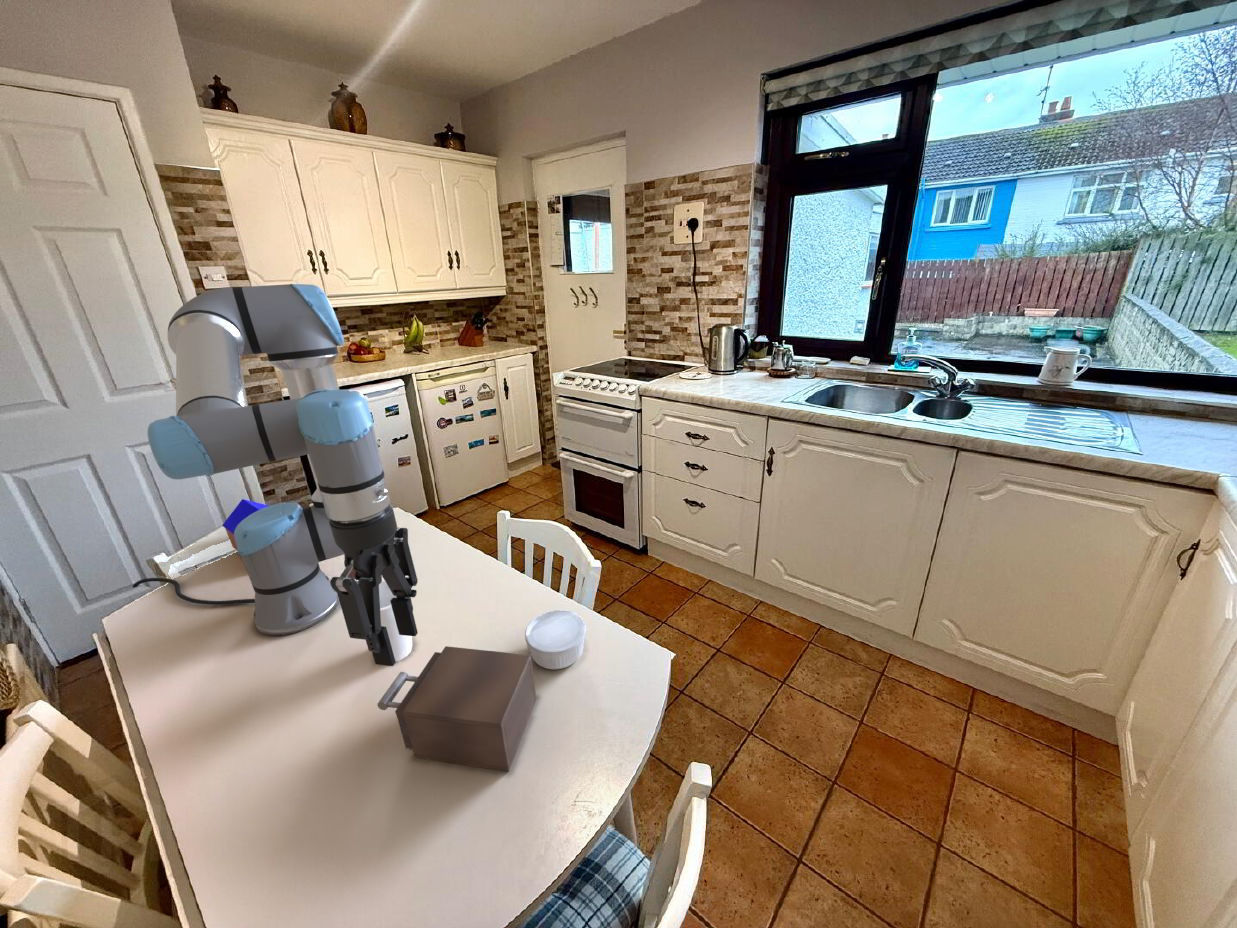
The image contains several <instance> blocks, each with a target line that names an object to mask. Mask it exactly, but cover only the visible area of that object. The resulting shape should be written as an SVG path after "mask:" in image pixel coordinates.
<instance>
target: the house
mask: <svg viewBox="0 0 1237 928" xmlns="http://www.w3.org/2000/svg"><path fill="white" fill-rule="evenodd" d="M268 506H270V505H269V504H265V503H261V502H256V501H252V500H248V499H244V498H242V499H241V500H240V501H239V502H238V504H237V505H236V507H235V508H234V509H233V510H232V512H231V513H230V514H229V515H228V517H227V518H226V519H225V520H224V522H223V524H222V525H221V527H223V528H224V529H225V531H226V535H227V536H228V539H229V541H230V544H231V547H232V548H233V549H234V550H236V551H237V545H236V541H235V538H234V531H235V529H236V527H237V526H238V524H239V523H240V522H241V521H242V520H244V519H245V518H247V517H248V516H249V515H251V514H253V513H254V512H256V511H258V510H260V509H263V508H265V507H268Z"/></svg>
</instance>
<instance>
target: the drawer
mask: <svg viewBox="0 0 1237 928" xmlns="http://www.w3.org/2000/svg"><path fill="white" fill-rule="evenodd" d="M440 654H441V652H438V651H435V652H434V653H432V655H431V657H430V659H429V660H428V662H427V663H426V664H425V666H424V668H423V669H422V671H421V672H420V674H419V675H418V676H415V675H409V674H408V673H407V672H405V671H400V672H399V674H398V675H397V676H396V677H395V679H394V680H393V681H392V683H391V684H390V685H389V687H388V688H387V690H386V691H385V692H384V694H383V695H382V697H381V698H380V700H378V702H377V704H376V706H377V707H378V709H380V710H382V711H386V710H387V709H388V708H391V709H395V711H394V712H395V714H396V720H397V722H398V726H399V730H400V733H401V736H402V740H403V743H404V747H405V749H406V750H407V749H408V750H413V748H412V744H411V741H410V737H409V733H408V730H407V726H406V723H405V719H404V715H403V710H404V709H405V707H406V706H407V704H408V703H409V701H410V700H411V698H412V696H413V695H414V693H415V692H416V690H417V689H418V687H419V686H420V684H421V683H422V681H423V680H424V678H425V677H426V675H427V674H428V672H429V671H430V669H431V668H432V666H433V665H434V663H435V661H436V660H437V658H438V657H439V655H440ZM406 682H413V684H412V685H411V687H410V688H409V690H408V691H407V693H405V696H404V697H403V698H402V700H401V701H400V702H398V701H394V699H395V698H396V697H397V695H398V694H399V692H400V690H401V689H402V688H403V686H404V685H405V684H406Z"/></svg>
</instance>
